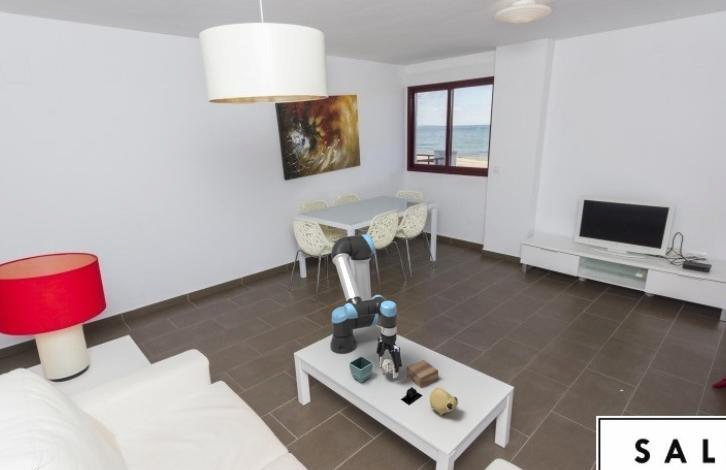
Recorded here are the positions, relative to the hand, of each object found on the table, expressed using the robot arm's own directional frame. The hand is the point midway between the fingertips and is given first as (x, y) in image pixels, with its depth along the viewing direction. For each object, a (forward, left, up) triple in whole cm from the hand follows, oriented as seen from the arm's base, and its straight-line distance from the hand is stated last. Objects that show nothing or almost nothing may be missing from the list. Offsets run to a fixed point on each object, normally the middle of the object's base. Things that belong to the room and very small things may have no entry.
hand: (388, 372), depth 190 cm
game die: (0, 0, -1) cm, 1 cm away
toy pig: (+33, +3, -4) cm, 33 cm away
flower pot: (-9, -10, -4) cm, 14 cm away
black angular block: (+17, -1, -5) cm, 18 cm away
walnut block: (+11, +13, -4) cm, 17 cm away
